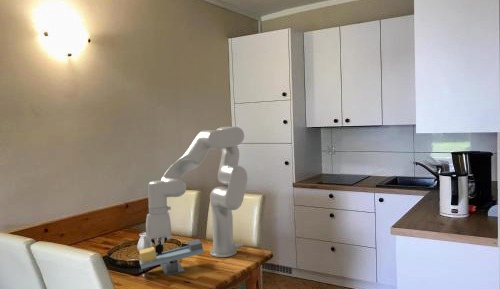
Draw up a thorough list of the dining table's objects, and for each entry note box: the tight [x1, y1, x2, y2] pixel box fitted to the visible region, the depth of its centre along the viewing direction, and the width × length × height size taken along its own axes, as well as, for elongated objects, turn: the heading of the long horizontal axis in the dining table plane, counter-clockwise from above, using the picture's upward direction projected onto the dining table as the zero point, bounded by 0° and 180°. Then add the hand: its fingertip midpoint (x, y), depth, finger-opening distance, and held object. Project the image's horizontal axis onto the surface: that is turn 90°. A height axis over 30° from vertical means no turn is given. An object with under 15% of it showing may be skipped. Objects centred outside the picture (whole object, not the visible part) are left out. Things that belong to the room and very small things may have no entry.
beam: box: [138, 238, 205, 270], centre depth 164 cm, size 26×9×5 cm, turn 111°
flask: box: [142, 235, 153, 249], centre depth 179 cm, size 7×7×10 cm
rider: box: [138, 246, 157, 263], centre depth 161 cm, size 6×5×4 cm
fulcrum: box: [160, 260, 185, 276], centre depth 165 cm, size 8×12×4 cm, turn 21°
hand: (159, 253), depth 163 cm, fingers closed
